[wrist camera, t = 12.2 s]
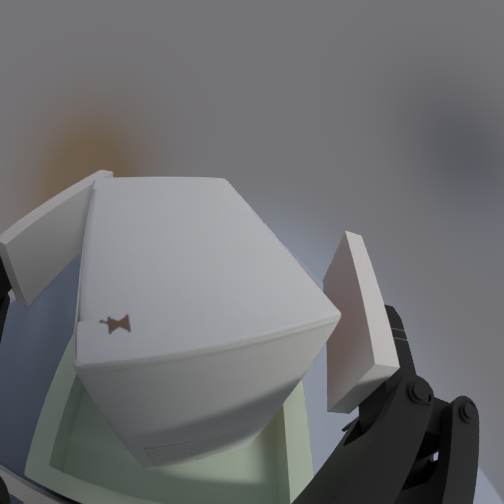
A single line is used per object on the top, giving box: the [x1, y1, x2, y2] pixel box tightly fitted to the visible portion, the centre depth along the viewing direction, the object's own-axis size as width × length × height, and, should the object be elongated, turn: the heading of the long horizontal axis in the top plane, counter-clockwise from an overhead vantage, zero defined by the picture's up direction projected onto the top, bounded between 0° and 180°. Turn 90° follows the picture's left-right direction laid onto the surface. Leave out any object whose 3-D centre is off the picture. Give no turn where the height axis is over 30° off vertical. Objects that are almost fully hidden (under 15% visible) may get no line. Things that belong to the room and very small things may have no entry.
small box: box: [73, 177, 341, 470], centre depth 10 cm, size 8×6×10 cm
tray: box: [24, 332, 314, 504], centre depth 13 cm, size 13×15×2 cm
